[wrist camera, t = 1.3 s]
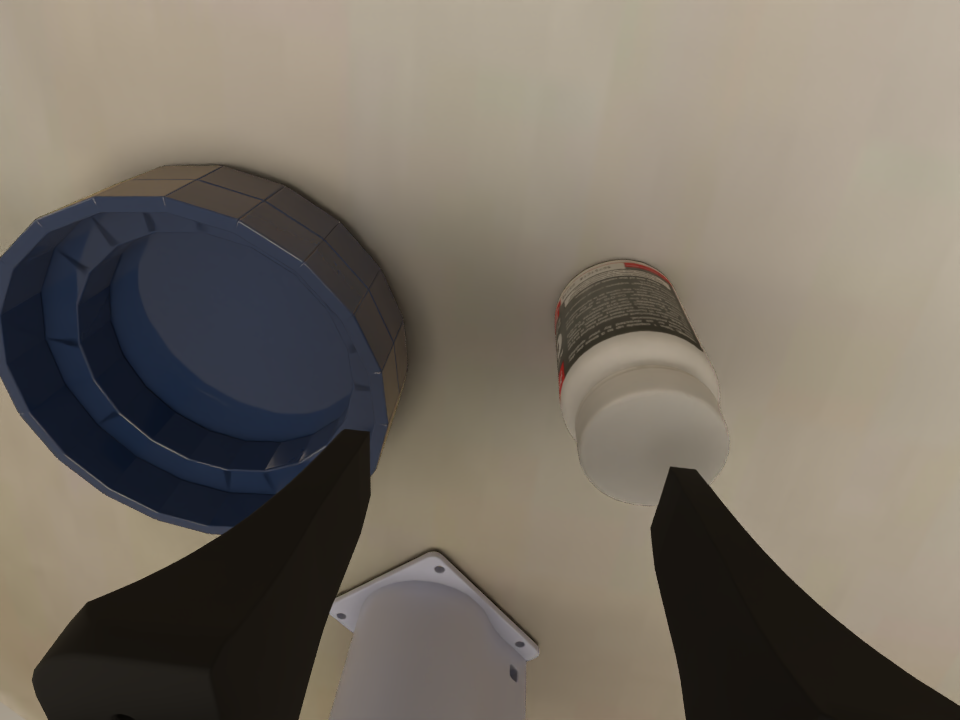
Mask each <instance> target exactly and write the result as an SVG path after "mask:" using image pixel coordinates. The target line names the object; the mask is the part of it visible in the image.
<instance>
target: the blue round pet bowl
mask: <svg viewBox="0 0 960 720" xmlns="http://www.w3.org/2000/svg"><path fill="white" fill-rule="evenodd" d="M407 372H408V358H407V348H406V337H405V327H404V321H403V316H402V314H401V312H400V310H399V308H398V305H397V303H396V301H395V299H394V296H393V294H392V292H391V290H390V288H389V285H388V283H387V281H386V279H385V277H384V274H383V272H382V270H381V269H380V267H379V266H378V265H377V263H376V262H375V261H374V260H373V259H372V258H371V256H370V255H369V254H368V253H367V252H366V251H365V250H364V248H363V247H362V246H361V245H360V244H359V243H358V241H357V240H356V239H355V238H354V237H353V236H352V235H351V233H350V232H349V231H348V230H347V229H346V228H345V226H344V225H343V224H342V223H341V222H340V223H339V221H338V220H337V219H335V218H334V217H332V216H331V215H329V214H328V213H326V212H325V211H323V210H322V209H320V208H319V207H317V206H316V205H314V204H313V203H311V202H310V201H308V200H307V199H305V198H304V197H302V196H301V195H299V194H298V193H296V192H295V191H293V190H292V189H290V188H289V187H286V186H285V185H283V184H280V183H277V182H273V181H270V180H267V179H264V178H261V177H258V176H254V175H251V174H248V173H245V172H242V171H239V170H235V169H232V168H229V167H226V166H222V165H197V166H162V167H158V168H156V169H153V170H150V171H148V172H145V173H143V174H140V175H138V176H135V177H133V178H130V179H127V180H125V181H122V182H120V183H117V184H115V185H112V186H110V187H108V188H105V189H103V190H101V191H98V192H96V193H94V194H92V195H89V196H87V197H85V198H82V199H80V200H78V201H75V202H73V203H71V204H68V205H66V206H64V207H61V208H59V209H57V210H54V211H52V212H50V213H47V214H45V215H43V216H41V217H38V218H37V219H35V220H34V221H33V222H32V223H31V224H30V226H29V227H28V228H27V229H26V230H25V231H24V232H23V233H22V234H21V235H20V236H19V237H18V239H17V240H16V241H15V242H14V243H13V244H12V245H11V246H10V247H9V248H8V249H7V251H6V252H5V253H4V254H3V255H2V256H1V257H0V377H1V379H2V381H3V383H4V385H5V387H6V389H7V391H8V393H9V395H10V397H11V399H12V401H13V403H14V405H15V407H16V409H17V411H18V413H20V416H21V417H22V418H23V419H24V421H25V422H26V423H27V424H28V425H29V426H30V428H31V429H32V430H33V431H34V432H35V433H36V435H37V436H38V437H39V438H40V439H41V440H42V442H43V443H44V444H45V445H46V446H47V447H48V449H49V450H50V451H51V452H52V453H53V454H54V456H55V457H56V458H58V460H60V461H61V462H62V463H64V464H65V465H66V466H68V467H69V468H70V469H71V470H73V471H74V472H75V473H77V474H78V475H79V476H81V477H82V478H83V479H85V480H86V481H87V482H89V483H90V484H91V485H92V486H94V487H95V488H96V489H98V490H99V491H100V492H102V493H103V494H105V495H106V496H108V497H110V498H112V499H115V500H117V501H119V502H121V503H123V504H125V505H127V506H129V507H131V508H133V509H135V510H137V511H139V512H141V513H143V514H145V515H147V516H149V517H151V518H153V519H157V520H158V521H162V522H166V523H170V524H173V525H177V526H181V527H185V528H188V529H192V530H196V531H200V532H203V533H207V534H209V533H210V534H217V535H222V534H224V533H225V532H227V531H228V530H230V529H231V528H233V527H234V526H235V525H237V524H238V523H240V522H241V521H242V520H244V519H245V518H247V517H248V516H249V515H251V514H252V513H253V512H254V511H256V510H257V509H258V508H260V507H261V506H262V505H263V504H265V503H266V502H267V501H268V500H269V499H271V498H272V497H273V496H274V495H275V494H276V493H278V492H279V491H280V490H281V489H282V488H284V487H285V486H286V485H287V484H288V483H289V482H290V481H292V480H293V479H294V478H295V477H296V476H297V475H298V474H299V473H300V472H301V471H302V470H303V469H304V468H305V467H306V466H307V465H309V464H310V463H311V462H312V461H313V460H314V459H315V458H316V457H317V456H318V455H319V454H320V453H321V452H322V451H323V450H324V449H325V448H326V446H327V445H328V444H329V443H330V442H331V441H332V440H333V439H334V438H335V437H336V436H337V435H338V434H339V433H340V432H341V431H342V430H344V429H352V430H360V431H369V432H370V477H371V475H372V474H373V473H374V472H375V470H376V469H377V466H378V463H379V460H380V457H381V454H382V451H383V448H384V445H385V443H386V440H387V437H388V434H389V431H390V428H391V425H392V422H393V419H394V416H395V413H396V410H397V407H398V404H399V400H400V397H401V393H402V390H403V386H404V382H405V379H406V375H407Z"/></svg>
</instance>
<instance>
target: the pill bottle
mask: <svg viewBox="0 0 960 720" xmlns="http://www.w3.org/2000/svg"><path fill="white" fill-rule="evenodd" d="M555 335H556V349H557V362H558V377H559V394H560V405H561V411H562V416H563V419H564V422H565V425H566V427H567V429H568V431H569V432H570V434H571V436H572V437H573V438H574V440H575V441H576V442H577V447H578V454H579V460H580V464H581V466H582V469H583V471H584V473H585V475H586V476H587V478H588V479H589V481H590V482H591V483H592V484H593V485H594V486H595V487H596V488H597V489H598V490H600V491H601V492H603V493H604V494H606V495H607V496H609V497H611V498H614V499H616V500H618V501H622V502H625V503H629V504H633V505H643V506H655V505H658V503H659V500H660V497H661V494H662V491H663V487H664V484H665V481H666V478H667V475H668V471H669V468H670V466H671V467H680V468H688V469H696V470H697V471H698V472H699V474H700V475H701V476H702V477H703V479H704V480H705V481H706V482H707V484H708V485H709V484H710V483H711V482H712V481H713V480H714V479H715V478H716V477H717V476H718V474H719V473H720V471H721V470H722V468H723V467H724V465H725V463H726V460H727V457H728V454H729V446H730V439H729V432H728V428H727V425H726V423H725V420H724V418H723V415H722V413H721V409H720V406H719V403H720V387H719V382H718V379H717V376H716V373H715V370H714V368H713V366H712V364H711V362H710V360H709V358H708V356H707V354H706V352H705V350H704V348H703V346H702V345H701V343H700V340H699V339H698V336H697V334H696V332H695V330H694V328H693V326H692V324H691V322H690V320H689V318H688V316H687V314H686V312H685V309H684V307H683V305H682V303H681V301H680V299H679V297H678V294H677V292H676V290H675V288H674V287H673V285H672V284H671V282H670V281H669V280H668V279H667V278H666V277H665V276H664V275H663V274H662V273H661V272H659V271H658V270H656V269H655V268H653V267H651V266H649V265H646V264H644V263H641V262H637V261H632V260H614V261H608V262H604V263H601V264H598V265H595V266H592V267H590V268H588V269H586V270H585V271H583V272H581V273H580V274H579V275H577V276H576V277H575V278H574V279H573V280H572V281H571V282H570V283H569V284H568V285H567V287H566V288H565V289H564V291H563V293H562V294H561V296H560V299H559V301H558V304H557V307H556V312H555Z"/></svg>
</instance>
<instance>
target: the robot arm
mask: <svg viewBox="0 0 960 720" xmlns="http://www.w3.org/2000/svg"><path fill="white" fill-rule="evenodd" d="M370 496H371V488H370V432H369V431H360V430H352V429H344V430H342V431H341V432H340V433H339V434H338V435H337V436H336V437H335V438H334V439H333V440H332V441H331V442H330V443H329V444H328V445H327V446H326V448H325V449H324V450H323V451H322V452H321V453H320V454H319V455H318V456H317V457H316V458H315V459H314V460H313V461H312V462H311V463H310V464H309V465H307V466H306V467H305V468H304V469H303V470H302V471H301V472H300V473H299V474H298V475H297V476H296V477H295V478H294V479H293V480H292V481H290V482H289V483H288V484H287V485H286V486H285V487H284V488H282V489H281V490H280V491H279V492H278V493H276V494H275V495H274V496H273V497H272V498H271V499H269V500H268V501H267V502H266V503H265V504H263V505H262V506H261V507H260V508H258V509H257V510H256V511H254V512H253V513H252V514H251V515H249V516H248V517H247V518H245V519H244V520H242V521H241V522H240V523H238V524H237V525H235V526H234V527H233V528H231V529H230V530H228V531H227V532H225V533H224V534H222V535H221V536H219V537H218V538H216V539H214V540H213V541H211V542H209V543H208V544H206V545H204V546H203V547H201V548H200V549H198V550H196V551H195V552H193V553H191V554H190V555H188V556H186V557H184V558H182V559H180V560H179V561H177V562H175V563H173V564H171V565H169V566H167V567H165V568H163V569H161V570H159V571H157V572H155V573H153V574H151V575H149V576H147V577H145V578H143V579H141V580H139V581H137V582H134V583H132V584H130V585H127V586H125V587H123V588H120V589H118V590H116V591H113V592H111V593H109V594H106V595H104V596H102V597H99V598H97V599H94V600H92V601H89V602H87V603H86V604H85V605H84V607H83V608H82V609H81V610H80V611H79V612H78V613H77V615H76V616H75V617H74V618H73V619H72V620H71V621H70V623H69V624H68V625H67V627H66V628H65V629H64V631H63V632H62V633H61V635H60V636H59V637H58V639H57V640H56V641H55V643H54V644H53V645H52V647H51V648H50V649H49V651H48V652H47V653H46V655H45V656H44V657H43V659H42V660H41V661H40V663H39V664H38V665H37V667H36V668H35V669H34V673H33V678H32V683H33V686H34V690H35V693H36V696H37V698H38V700H39V702H40V704H41V706H42V708H43V710H44V712H45V714H46V716H47V718H48V720H298V719H299V715H300V712H301V708H302V704H303V700H304V697H305V693H306V689H307V686H308V682H309V678H310V675H311V671H312V668H313V664H314V660H315V657H316V653H317V650H318V646H319V643H320V639H321V636H322V633H323V630H324V627H325V624H326V621H327V618H328V615H329V614H330V615H331V616H333V617H334V618H335V619H336V620H338V621H339V622H340V623H341V624H343V625H344V626H345V627H346V628H347V629H349V630H350V631H351V632H352V633H354V634H353V637H352V641H351V644H350V647H349V651H348V654H347V658H346V661H345V665H344V668H343V672H342V675H341V678H340V682H339V685H338V689H337V692H336V696H335V699H334V703H333V706H332V709H331V713H330V716H329V720H525V713H526V662H527V661H530V660H532V659H535V658H537V657H538V656H539V647H538V645H537V644H536V643H534V642H533V641H532V640H531V639H530V638H529V637H528V636H527V635H526V634H525V633H524V632H523V631H522V630H521V629H520V628H519V627H518V626H517V625H515V624H514V623H513V622H512V621H511V620H510V619H509V618H508V617H507V616H506V615H505V614H504V613H503V612H502V611H501V610H500V609H499V608H498V607H497V606H495V605H494V604H493V603H492V602H491V601H490V600H489V599H488V598H487V597H486V596H485V595H484V594H483V593H482V592H481V591H480V590H479V589H478V588H476V587H475V586H474V585H473V584H472V583H471V582H470V581H469V580H468V579H467V578H466V577H465V576H464V575H463V574H462V573H461V572H460V571H459V570H457V569H456V568H455V567H454V566H453V565H452V564H451V563H450V562H449V561H448V560H447V559H446V558H445V557H444V556H443V555H442V554H440V553H439V552H434V551H432V552H428V553H426V554H424V555H422V556H420V557H418V558H416V559H414V560H412V561H410V562H408V563H406V564H404V565H402V566H400V567H398V568H396V569H394V570H392V571H389V572H387V573H385V574H383V575H381V576H379V577H377V578H375V579H373V580H371V581H369V582H367V583H365V584H363V585H361V586H359V587H357V588H355V589H353V590H351V591H349V592H347V593H345V594H343V595H341V596H339V597H337V598H335V597H336V595H337V592H338V590H339V587H340V585H341V582H342V580H343V577H344V575H345V572H346V570H347V567H348V565H349V562H350V560H351V557H352V554H353V552H354V549H355V547H356V544H357V542H358V539H359V536H360V534H361V530H362V527H363V523H364V519H365V515H366V511H367V508H368V504H369V500H370ZM651 538H652V549H653V557H654V566H655V571H656V576H657V580H658V584H659V589H660V593H661V597H662V601H663V605H664V609H665V614H666V618H667V622H668V626H669V630H670V634H671V638H672V642H673V646H674V650H675V654H676V659H677V664H678V669H679V674H680V680H681V687H682V694H683V701H684V709H685V716H686V720H960V706H959V705H957V704H956V703H954V702H953V701H951V700H949V699H948V698H946V697H945V696H943V695H941V694H940V693H938V692H937V691H935V690H933V689H932V688H930V687H929V686H927V685H926V684H924V683H922V682H921V681H919V680H918V679H916V678H915V677H913V676H912V675H910V674H909V673H907V672H906V671H904V670H903V669H901V668H900V667H899V666H897V665H896V664H894V663H893V662H891V661H890V660H889V659H887V658H886V657H884V656H883V655H881V654H880V653H879V652H877V651H876V650H875V649H873V648H872V647H871V646H869V645H868V644H867V643H865V642H864V641H863V640H861V639H860V638H859V637H857V636H856V635H855V634H854V633H853V632H851V631H850V630H849V629H848V628H846V627H845V626H844V625H843V624H841V623H840V622H839V621H838V620H836V619H835V618H834V617H833V616H831V615H830V614H829V613H828V612H827V611H826V610H824V609H823V608H822V607H821V606H820V605H819V604H817V603H816V602H815V601H814V600H813V599H812V598H811V597H810V596H809V595H808V594H807V593H806V592H804V591H803V590H802V589H801V588H800V587H799V586H798V585H797V584H796V583H795V582H794V581H793V580H792V579H791V578H790V577H788V576H787V575H786V574H785V573H784V572H783V571H782V570H781V568H780V567H779V566H778V565H777V564H776V563H775V562H774V561H773V560H772V559H771V558H770V557H769V556H768V555H767V554H766V553H765V552H764V551H763V550H762V548H761V547H760V546H759V545H758V544H757V543H756V542H755V541H754V539H753V538H752V537H751V536H750V535H749V534H748V533H747V531H746V530H745V529H744V528H743V527H742V526H741V524H740V523H739V522H738V521H737V520H736V518H735V517H734V516H733V515H732V514H731V512H730V511H729V510H728V509H727V507H726V506H725V505H724V504H723V502H722V501H721V500H720V499H719V498H718V496H717V495H716V494H715V492H714V491H713V490H712V489H711V487H710V486H709V485H708V484H707V482H706V481H705V480H704V479H703V477H702V476H701V475H700V474H699V472H698V471H697V470H696V469H688V468H680V467H671V466H670V468H669V471H668V475H667V478H666V481H665V484H664V487H663V491H662V494H661V497H660V500H659V503H658V506H657V510H656V513H655V516H654V519H653V522H652V525H651ZM439 566H442V567H439Z"/></svg>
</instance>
